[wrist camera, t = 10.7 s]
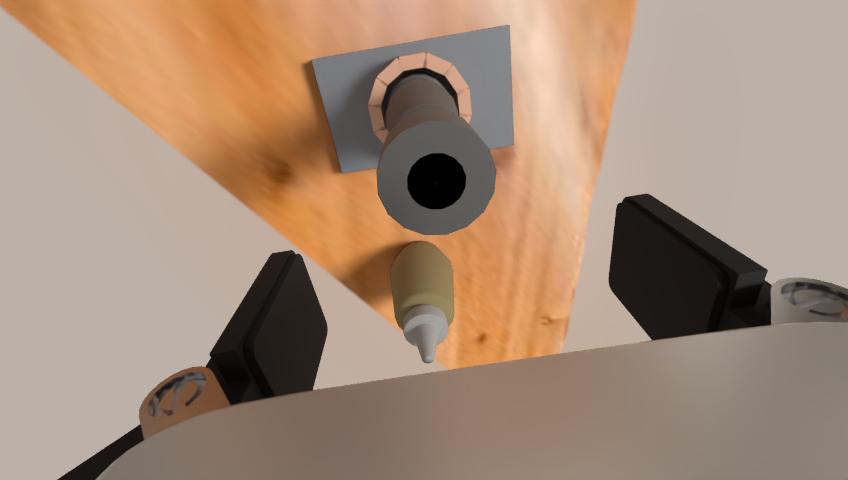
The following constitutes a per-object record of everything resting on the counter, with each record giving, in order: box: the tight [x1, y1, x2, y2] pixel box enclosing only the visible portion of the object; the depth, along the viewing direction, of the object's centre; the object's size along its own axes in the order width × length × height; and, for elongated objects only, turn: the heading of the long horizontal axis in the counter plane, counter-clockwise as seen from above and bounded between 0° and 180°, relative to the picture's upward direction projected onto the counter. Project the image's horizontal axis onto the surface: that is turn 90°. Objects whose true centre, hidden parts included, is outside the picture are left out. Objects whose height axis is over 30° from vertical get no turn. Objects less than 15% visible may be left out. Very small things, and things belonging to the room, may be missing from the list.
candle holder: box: [377, 72, 496, 235], centre depth 28 cm, size 6×6×25 cm
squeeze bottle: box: [390, 241, 454, 363], centre depth 42 cm, size 8×8×18 cm
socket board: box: [311, 25, 514, 174], centre depth 38 cm, size 20×12×5 cm, turn 99°
